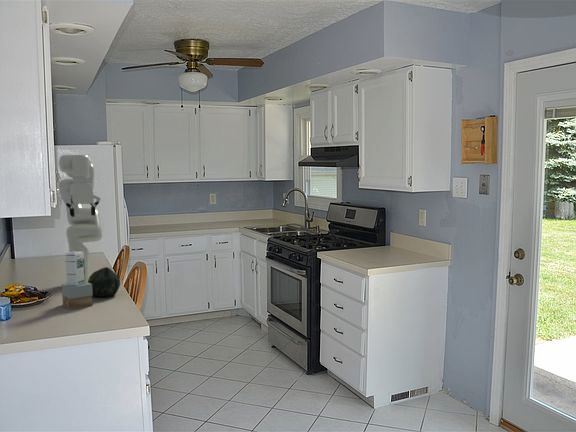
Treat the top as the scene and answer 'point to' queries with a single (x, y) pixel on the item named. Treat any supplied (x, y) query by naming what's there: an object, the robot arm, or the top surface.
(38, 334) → the top surface
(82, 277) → the syrup box
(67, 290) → the top block
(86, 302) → the bottom block
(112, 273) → the squash
